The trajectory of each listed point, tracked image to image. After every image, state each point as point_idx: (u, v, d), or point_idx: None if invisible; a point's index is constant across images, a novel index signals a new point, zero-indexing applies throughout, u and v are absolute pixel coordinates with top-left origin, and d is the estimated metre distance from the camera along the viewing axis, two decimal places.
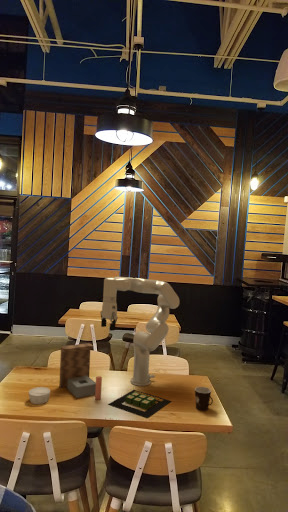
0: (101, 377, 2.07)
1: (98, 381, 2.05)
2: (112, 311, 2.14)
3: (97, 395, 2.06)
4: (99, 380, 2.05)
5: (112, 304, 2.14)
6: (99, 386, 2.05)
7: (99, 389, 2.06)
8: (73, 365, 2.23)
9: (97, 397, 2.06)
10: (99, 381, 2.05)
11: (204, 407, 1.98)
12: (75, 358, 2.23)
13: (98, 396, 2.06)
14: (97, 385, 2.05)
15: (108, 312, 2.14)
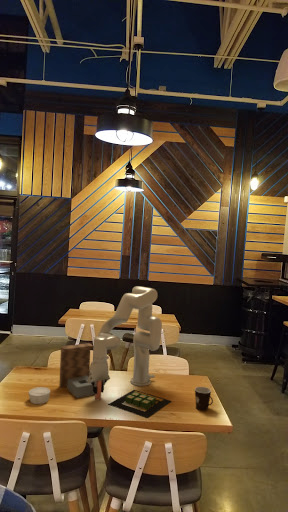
0: None
1: (98, 381, 2.05)
2: None
3: (97, 395, 2.06)
4: None
5: None
6: (99, 386, 2.05)
7: (99, 389, 2.06)
8: (73, 365, 2.23)
9: (97, 397, 2.06)
10: (99, 381, 2.05)
11: (204, 407, 1.98)
12: (75, 358, 2.23)
13: (98, 396, 2.06)
14: (97, 385, 2.05)
15: (106, 372, 2.06)
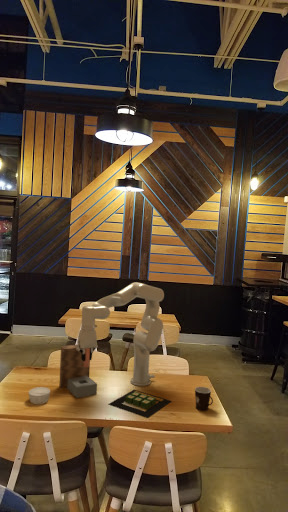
0: None
1: (86, 349, 2.11)
2: None
3: (85, 362, 2.11)
4: (87, 348, 2.11)
5: None
6: (87, 354, 2.11)
7: (87, 357, 2.11)
8: (73, 365, 2.23)
9: (85, 364, 2.11)
10: (87, 349, 2.11)
11: (204, 407, 1.98)
12: (75, 358, 2.23)
13: (86, 363, 2.11)
14: (85, 353, 2.11)
15: (94, 340, 2.12)
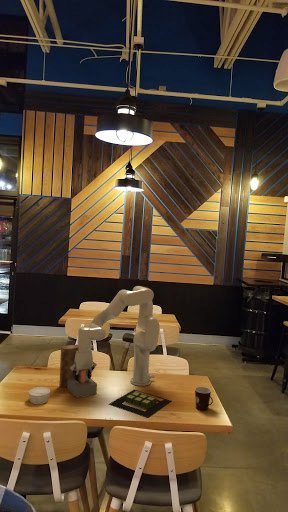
0: (85, 369, 2.14)
1: (82, 373, 2.13)
2: None
3: None
4: (83, 372, 2.13)
5: None
6: (83, 378, 2.13)
7: (83, 381, 2.13)
8: None
9: None
10: (83, 373, 2.13)
11: (204, 407, 1.98)
12: None
13: None
14: (81, 377, 2.13)
15: (90, 361, 2.14)
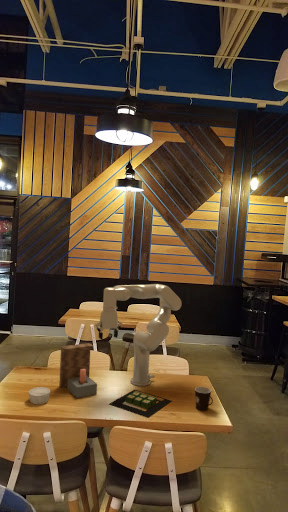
0: (85, 369, 2.14)
1: (82, 373, 2.13)
2: None
3: None
4: (83, 372, 2.13)
5: None
6: (83, 378, 2.13)
7: (83, 381, 2.13)
8: (73, 365, 2.23)
9: None
10: (83, 373, 2.13)
11: (204, 407, 1.98)
12: (75, 358, 2.23)
13: None
14: (81, 377, 2.13)
15: (115, 321, 2.19)
